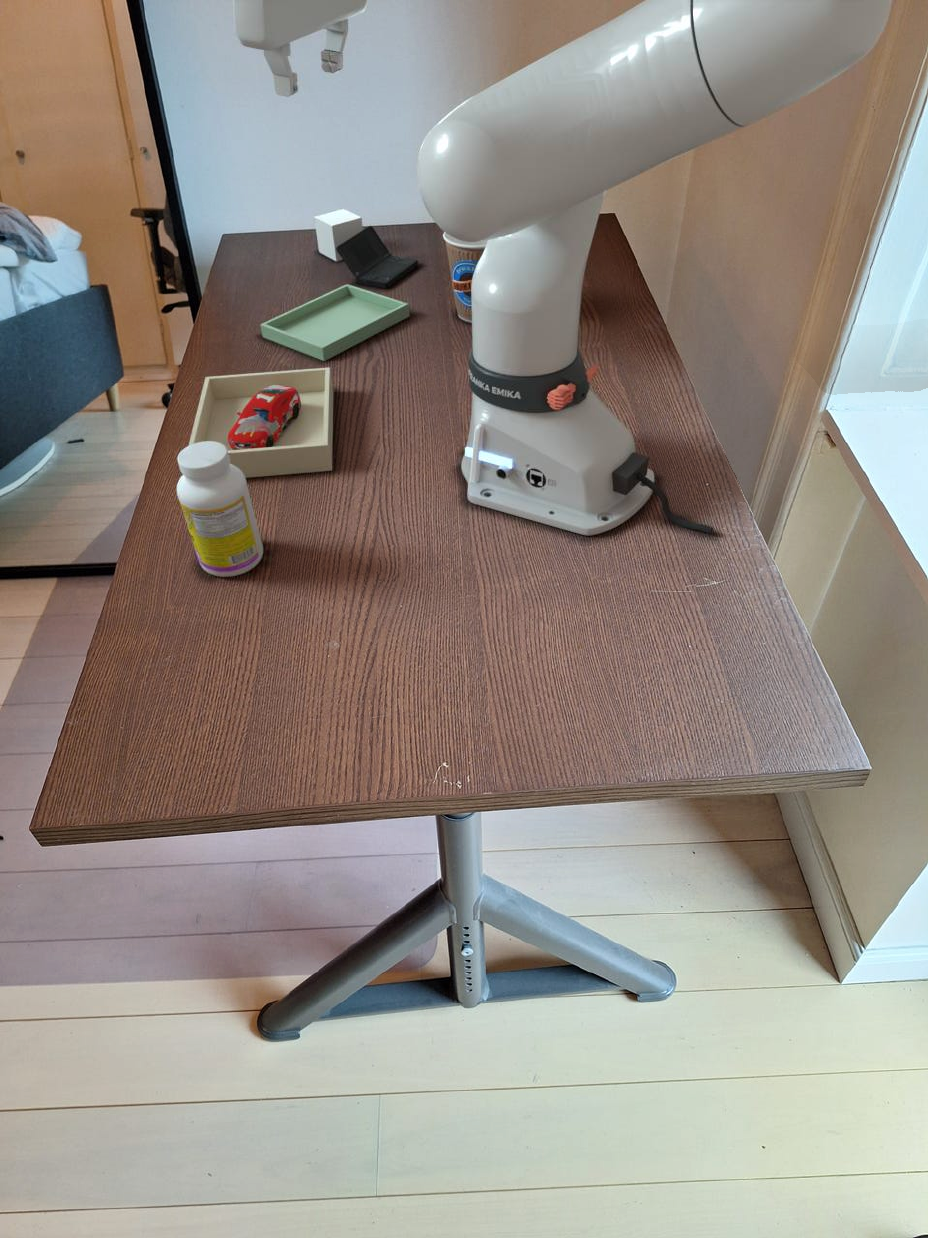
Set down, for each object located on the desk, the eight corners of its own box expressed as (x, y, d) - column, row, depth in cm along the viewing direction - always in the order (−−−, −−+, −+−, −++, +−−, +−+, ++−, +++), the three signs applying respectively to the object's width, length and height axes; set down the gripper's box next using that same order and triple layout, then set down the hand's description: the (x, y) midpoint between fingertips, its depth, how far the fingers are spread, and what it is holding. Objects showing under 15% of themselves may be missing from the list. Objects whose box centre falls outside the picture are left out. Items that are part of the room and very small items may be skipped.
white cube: (347, 243, 154) (343, 208, 150) (365, 253, 150) (361, 217, 146) (318, 252, 151) (313, 216, 147) (336, 261, 148) (331, 225, 144)
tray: (409, 316, 131) (408, 303, 129) (324, 361, 121) (322, 347, 119) (348, 296, 137) (347, 283, 135) (262, 337, 127) (260, 324, 125)
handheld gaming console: (398, 279, 137) (360, 222, 134) (367, 303, 141) (329, 249, 138) (423, 263, 146) (388, 210, 143) (393, 286, 150) (358, 235, 147)
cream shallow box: (211, 400, 113) (205, 376, 111) (333, 391, 114) (329, 367, 112) (193, 482, 99) (185, 456, 97) (332, 470, 100) (327, 444, 98)
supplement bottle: (212, 538, 91) (181, 433, 83) (272, 540, 91) (247, 435, 82) (190, 578, 87) (155, 472, 78) (253, 581, 86) (225, 474, 77)
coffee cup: (437, 324, 128) (432, 242, 120) (459, 297, 135) (456, 217, 127) (502, 332, 126) (502, 248, 117) (521, 303, 133) (523, 223, 124)
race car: (263, 461, 101) (256, 432, 98) (223, 455, 102) (215, 426, 100) (309, 406, 110) (304, 378, 107) (271, 401, 111) (265, 373, 109)
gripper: (269, -75, 69) (285, 115, 79) (380, -102, 82) (382, 64, 92) (203, -86, 70) (226, 103, 80) (322, -111, 83) (330, 54, 93)
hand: (310, 82), depth 86 cm, fingers open, 8 cm apart
